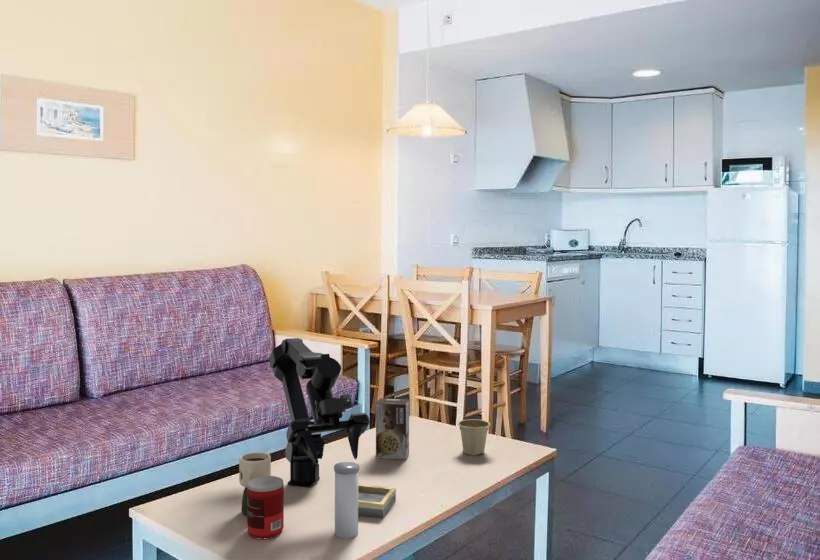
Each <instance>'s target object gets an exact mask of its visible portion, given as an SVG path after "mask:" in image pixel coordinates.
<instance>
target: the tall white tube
mask: <svg viewBox="0 0 820 560" xmlns="http://www.w3.org/2000/svg"><path fill="white" fill-rule="evenodd" d="M333 471H334V536H335V537H336V538H339V539H343V540H344V539H345V540H347V539H352V538H355V537H357V536H358V534H359V515H358V484H359V471H360V464H359V463H356V462H353V461H342V462H338V463H335V464H334V466H333Z"/></svg>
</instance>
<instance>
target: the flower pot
mask: <svg viewBox="0 0 820 560" xmlns="http://www.w3.org/2000/svg"><path fill="white" fill-rule="evenodd" d="M457 425H458V426H459V430H460V436H461V443H462V444H461V445H462V452H463V453H464V454H467V455H469V454H471V455H470V456H478V454H479V455H480V454H481V453H482V455H483V454H484V453H485V448H486V443H487V442H486V441H487V435H488V434H487V433H488V431H489V427H490V426H491V423H490V422H489V421H486V420H483V419H477V418H476V419H473V418H472V419H464V420H463V419H462V420H460V421H458V422H457Z"/></svg>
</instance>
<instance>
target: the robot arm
mask: <svg viewBox="0 0 820 560" xmlns="http://www.w3.org/2000/svg"><path fill="white" fill-rule="evenodd" d="M269 367H270V369H272V372H273V376H274V377H275V378H277V380H279V381H280V382H281V383H282V389H283V392H284V397H285V401H286V403H287V409H288V413H289V418H290V421H291V422H290V423H289V425H288V428H287V430H286V441H287V444H286V447H285V449H284V453H285V454H284V455H285V459H286V460H287V461H288V462H289V463H290V464H289V465H290V466H289V467H290V469H289V470H290V473H289V474H290V475H289V477H290V478H289V481H288V482H287V485H289V486H290V485H291V486H297V487H298V486H299V487H309V488H310V487H313V486H314V485H315V484H316V483H317V482H319V480H321V479H320V464H319V460H322V459H323V456H324V448H325V443H326V442H325V440H324V437H323V435H322V434H321V433H326V432H333V431H341V430H346V432H347V434H348V436H347V440H348V444H349V446H350V450H351V454H352V455H351V456H353V458H354V460H357V459H358V455H359V453H358V451H359V442H360V441H359V440H360V438H361V436H362V435H363V434H364V433H365V432H366V430H367V429H368V427H369V425H370V423H371V420H370V418H369V415H368V414H367V413H366V412H359V413H351V414H350V415H349V417H348V420H340V419H341V418H343V413H345V412H346V410H348V409H349V410H350V409H351V408H352V407H353V403H352V402H353V401H352V398H351V395H350V393H346V394H345V393H344V394H342V395H340V396H339V397H336V396H335V397H334V395H333V392H332V391H333V390H332V389H333V388H334V387H335V385H336V383H337V380H338V378H339V377H340V374H341V372H342V366H341V363H339V361H338V360H336V359H335V358H333V357H331V356H330V354H329V353H321V352H315V351H312V350H311V349H310V348H309V347H308V346H307V345H306V344H305V343H304V342H303V339H302V338H299V337H295V338H285V339H283V340H282V341H281V343H280V344H278V345H277V346H275V347H274V348H273V349H272V351H271V353H270V356H269ZM300 379H301V380H309V381H307V383H306V385H305V389H306V391H305V394H306V396H307V398H308V402H309V405H310V412H309V413H310V415H309V413H308V408H307V404H306V400H305V396H304V392H303V389H302V384H301V381H300ZM310 416H312V418H313V421H312V420H310Z"/></svg>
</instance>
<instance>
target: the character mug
mask: <svg viewBox="0 0 820 560" xmlns="http://www.w3.org/2000/svg"><path fill="white" fill-rule="evenodd" d="M238 459H239V460H238V464H239V465H238V466H239V467H238V468H239V469H238V471H239V475H238V476H239V479H238V483H239V484H240V485H241V486H242V487H244V489H243V492H242V498H241V499H242V500H241V508H240V509H241V513H242V514H245V515H247V483H248V482H249V481H250V480H251V479H254V478H257V477H261V476H272V474H271V473H272V472H271V471H272V470H271V469H272V462H271V461H272V460H271V459H272V457H271V454H269V453H268V452H267V453H266V452H261V451H257V452H248V453H245V454H242V455H240V456H239V458H238Z"/></svg>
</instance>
